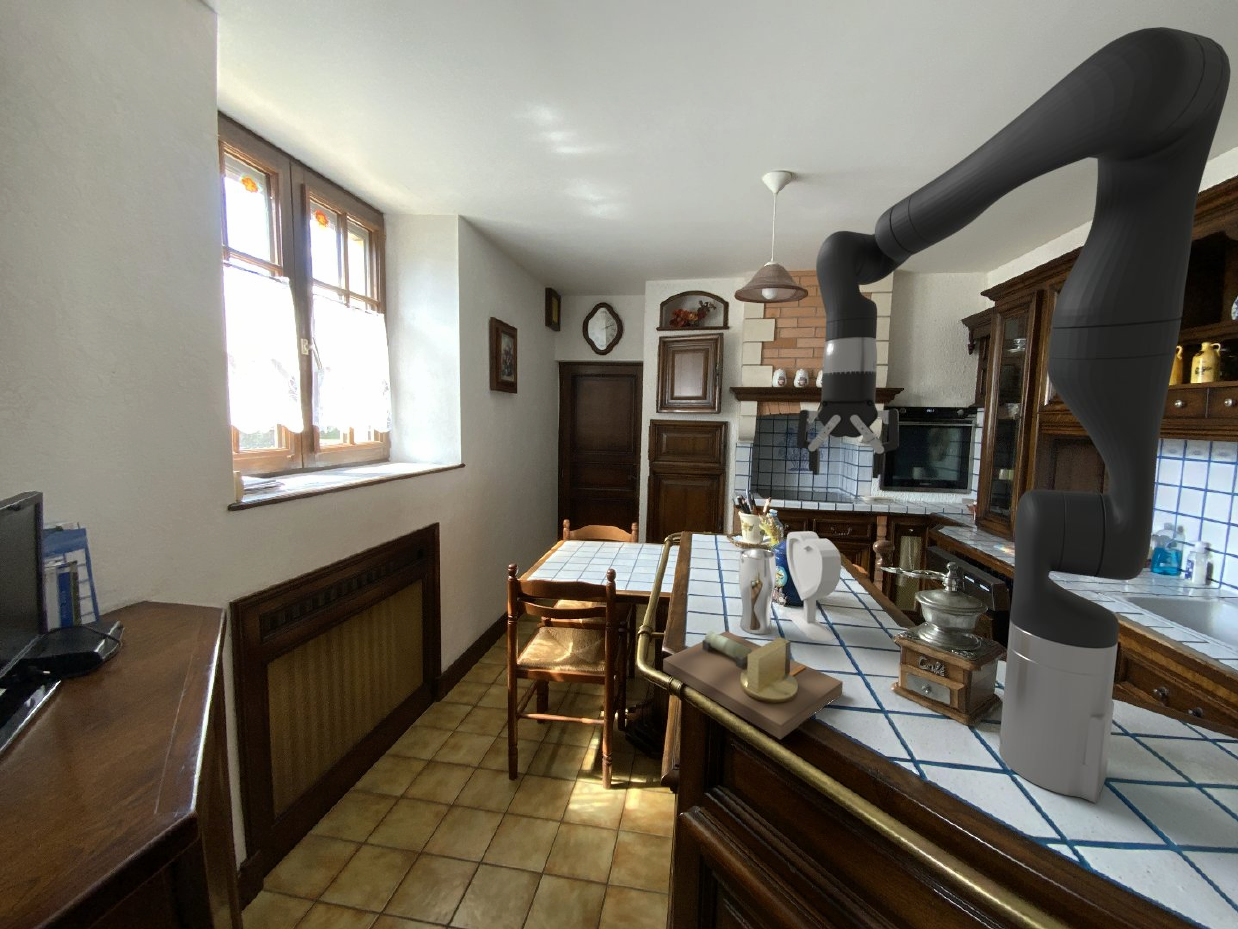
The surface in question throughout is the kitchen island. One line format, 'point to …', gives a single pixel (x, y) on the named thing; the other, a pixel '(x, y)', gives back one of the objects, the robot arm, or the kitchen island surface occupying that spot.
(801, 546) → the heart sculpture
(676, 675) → the knob and handle board
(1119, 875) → the kitchen island surface
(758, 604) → the beer glass
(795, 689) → the wing knob
